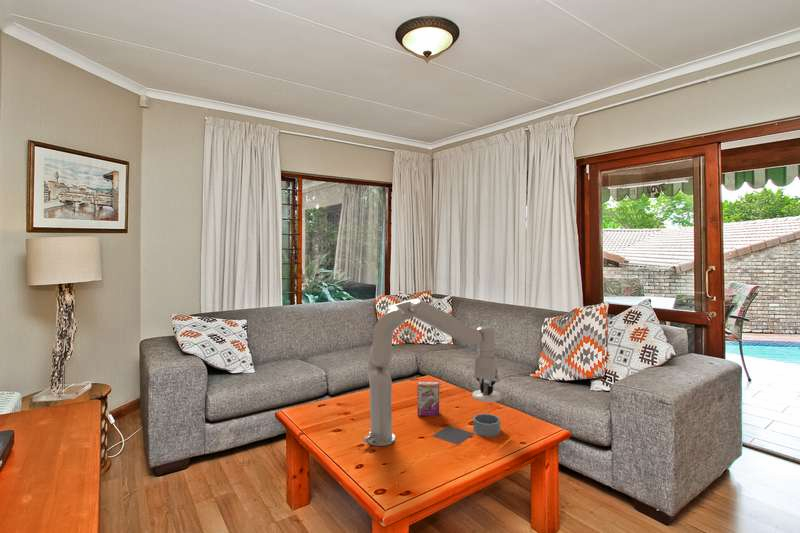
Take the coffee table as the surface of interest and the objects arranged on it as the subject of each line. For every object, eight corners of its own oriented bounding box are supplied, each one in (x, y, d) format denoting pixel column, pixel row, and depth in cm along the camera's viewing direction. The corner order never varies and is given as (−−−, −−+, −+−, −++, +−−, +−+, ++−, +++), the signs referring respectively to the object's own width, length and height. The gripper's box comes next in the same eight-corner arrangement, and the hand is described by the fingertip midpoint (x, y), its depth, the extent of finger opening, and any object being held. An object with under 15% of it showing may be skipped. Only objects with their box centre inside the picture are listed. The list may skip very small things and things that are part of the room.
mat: (458, 446, 178) (458, 444, 178) (431, 437, 187) (431, 435, 187) (474, 434, 188) (474, 433, 188) (448, 426, 197) (448, 425, 197)
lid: (493, 404, 181) (492, 390, 181) (467, 397, 190) (466, 384, 189) (506, 395, 191) (505, 382, 191) (480, 390, 200) (480, 377, 199)
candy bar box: (417, 416, 210) (417, 384, 210) (418, 412, 215) (417, 381, 215) (439, 416, 209) (439, 384, 209) (439, 413, 214) (439, 381, 214)
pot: (492, 440, 183) (492, 426, 183) (468, 432, 190) (468, 420, 190) (504, 430, 192) (504, 418, 192) (481, 424, 200) (481, 411, 199)
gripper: (466, 352, 192) (466, 391, 193) (498, 358, 182) (499, 399, 182) (474, 349, 198) (474, 387, 199) (506, 354, 187) (506, 394, 188)
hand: (486, 392), depth 191 cm, fingers closed on lid, 3 cm apart
